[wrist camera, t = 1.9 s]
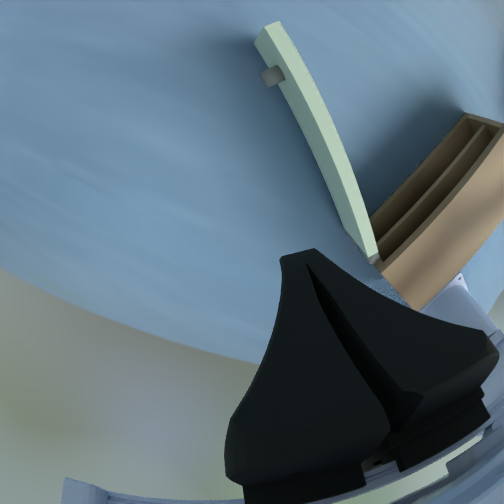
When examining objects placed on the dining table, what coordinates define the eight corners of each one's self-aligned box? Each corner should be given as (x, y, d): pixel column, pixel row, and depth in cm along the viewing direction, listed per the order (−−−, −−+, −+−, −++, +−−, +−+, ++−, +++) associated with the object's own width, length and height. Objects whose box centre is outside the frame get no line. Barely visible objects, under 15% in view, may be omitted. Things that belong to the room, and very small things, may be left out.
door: (266, 37, 13) (279, 20, 9) (356, 231, 20) (381, 261, 17) (238, 49, 13) (244, 34, 9) (336, 242, 21) (357, 273, 17)
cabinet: (487, 168, 19) (523, 188, 14) (389, 277, 24) (415, 313, 20) (465, 112, 16) (508, 125, 11) (350, 235, 21) (380, 273, 17)
